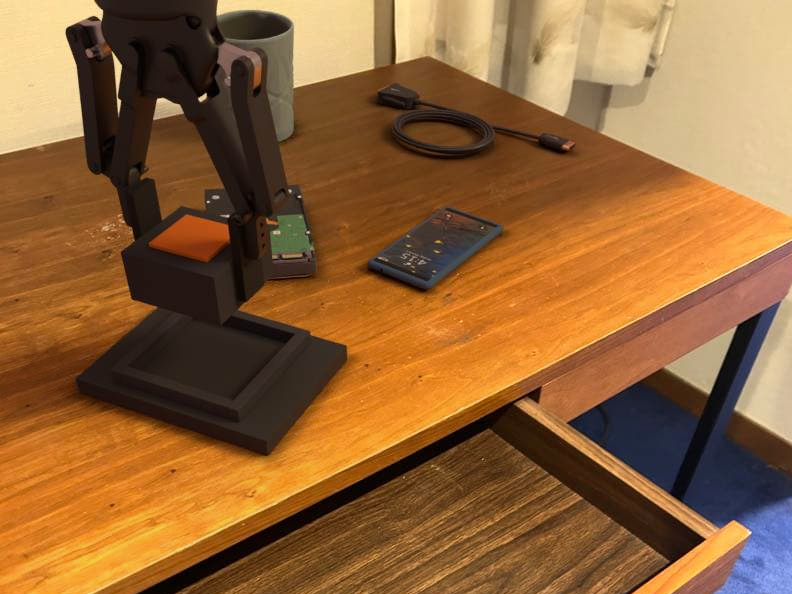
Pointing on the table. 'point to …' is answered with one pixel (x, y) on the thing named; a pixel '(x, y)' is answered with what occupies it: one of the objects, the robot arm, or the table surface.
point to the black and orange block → (187, 266)
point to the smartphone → (435, 247)
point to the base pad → (216, 375)
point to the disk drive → (279, 232)
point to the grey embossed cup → (278, 45)
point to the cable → (410, 99)
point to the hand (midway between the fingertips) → (202, 278)
